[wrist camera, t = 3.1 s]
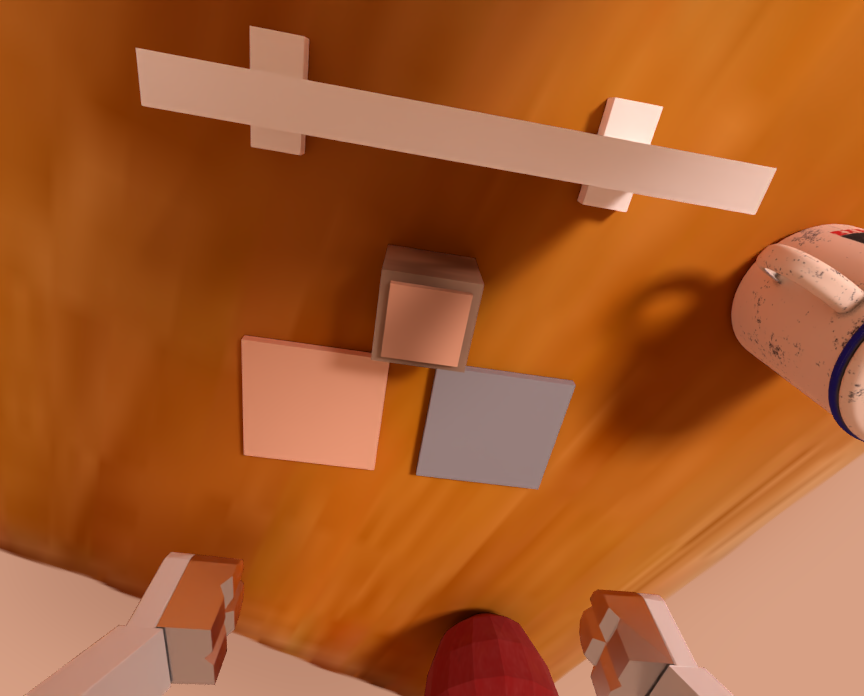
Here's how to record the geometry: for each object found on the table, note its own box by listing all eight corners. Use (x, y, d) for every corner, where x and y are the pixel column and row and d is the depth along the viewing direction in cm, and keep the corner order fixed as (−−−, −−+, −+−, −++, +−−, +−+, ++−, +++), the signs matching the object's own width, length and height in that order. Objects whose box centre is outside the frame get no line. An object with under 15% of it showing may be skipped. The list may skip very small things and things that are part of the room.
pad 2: (572, 380, 31) (575, 385, 30) (536, 483, 35) (538, 489, 34) (437, 361, 30) (437, 366, 29) (416, 469, 34) (415, 475, 33)
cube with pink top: (474, 257, 27) (485, 287, 22) (458, 335, 29) (464, 376, 25) (388, 243, 26) (381, 271, 22) (378, 323, 29) (370, 363, 24)
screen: (659, 108, 23) (805, 108, 14) (624, 209, 26) (731, 264, 17) (250, 27, 21) (127, -28, 13) (251, 144, 24) (147, 166, 15)
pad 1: (390, 355, 29) (389, 359, 29) (374, 464, 34) (374, 470, 33) (244, 335, 29) (241, 339, 28) (246, 449, 33) (243, 454, 32)
